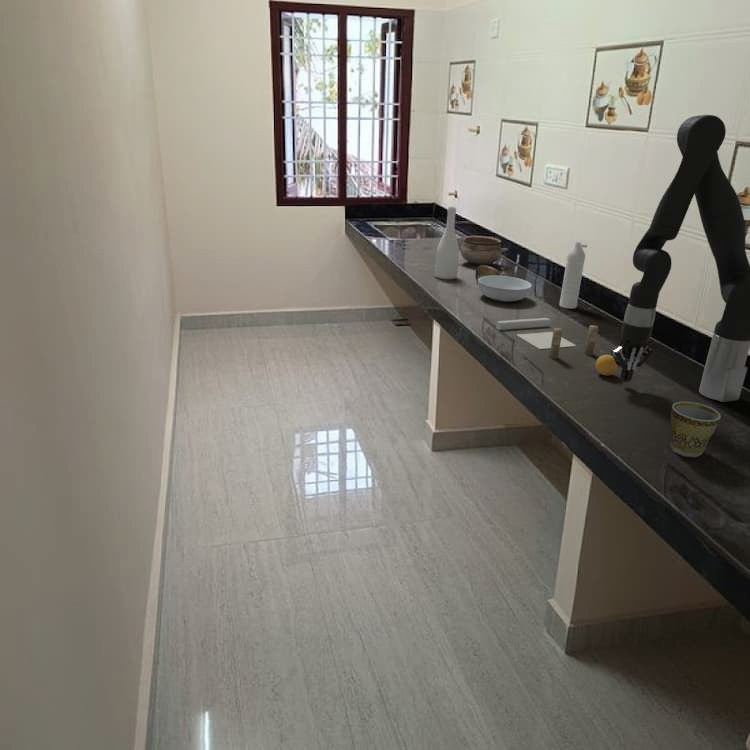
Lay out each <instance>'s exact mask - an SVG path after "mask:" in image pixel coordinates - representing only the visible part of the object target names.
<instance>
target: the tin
mask: <svg viewBox="0 0 750 750" xmlns="http://www.w3.org/2000/svg"><path fill="white" fill-rule="evenodd" d="M492 275H497V276H501V273H500V271H499V269H497V268H494V267H491V266H490V265H487V266H486V265H480V266H479V267H478V266H477V268H476V271H475V280H476V283H477V284H478V279H479V278H480V277H483V276H492Z"/></svg>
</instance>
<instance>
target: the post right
mask: <svg viewBox="0 0 750 750" xmlns="http://www.w3.org/2000/svg"><path fill="white" fill-rule="evenodd" d="M598 332H599V326H598V325H592V324H591V325H589V327H588V332H587V333H588V334H587V337H586V338H587V339H586V343H585V349H584V355H586V356H593V355H594V351H595V348H596V341H597V336H598Z"/></svg>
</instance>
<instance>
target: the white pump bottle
mask: <svg viewBox="0 0 750 750" xmlns="http://www.w3.org/2000/svg"><path fill="white" fill-rule="evenodd" d="M583 248H584V249H585V248H588V244H586V243H583V242H581V241H575V242H574V245H573V247H572V248H571V249H570V250H569V251H568V252H567V256H566V263H565V269H564V275H563V280H562V285H561V288H562V289H561V294H560V299H559V306H560V308H563V309H570V310H571V309H572V310H573V309H576V308H577V306H578V300H579V295H580V288H581V287H580V286H581V281H582V276H583V271H584V266H585V259H586V252H585V251H584V249H583Z"/></svg>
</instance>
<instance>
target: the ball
mask: <svg viewBox="0 0 750 750" xmlns="http://www.w3.org/2000/svg"><path fill="white" fill-rule="evenodd" d="M618 367H619V366H618V365H617V364H616V362H615V360H614V358H613V356H612V354H611V355H609V354H603V355H601V356H599V357H598V358H597V359H596V361H595V370H596V371H597V372H598V373H599V375H602V376H612V375H613V374H615V373H616V371H617V369H618Z"/></svg>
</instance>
